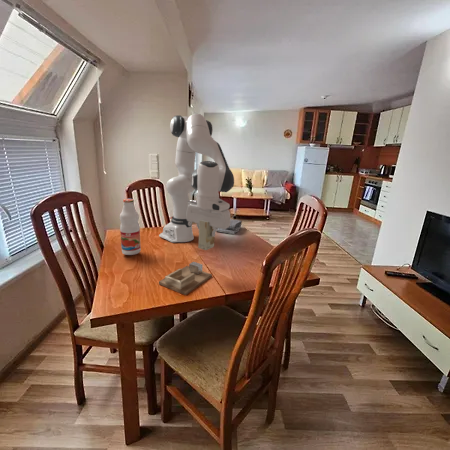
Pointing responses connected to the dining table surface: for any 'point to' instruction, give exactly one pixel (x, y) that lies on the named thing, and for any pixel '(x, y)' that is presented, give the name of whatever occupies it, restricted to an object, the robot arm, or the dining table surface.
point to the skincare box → (205, 235)
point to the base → (184, 280)
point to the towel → (232, 227)
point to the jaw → (195, 267)
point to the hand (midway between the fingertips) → (206, 234)
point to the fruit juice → (129, 228)
